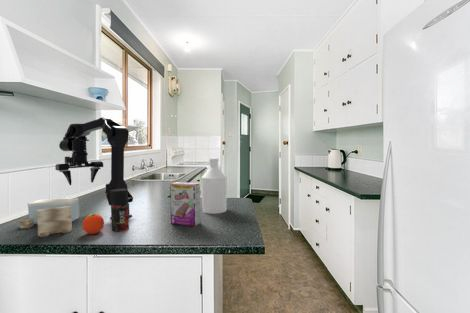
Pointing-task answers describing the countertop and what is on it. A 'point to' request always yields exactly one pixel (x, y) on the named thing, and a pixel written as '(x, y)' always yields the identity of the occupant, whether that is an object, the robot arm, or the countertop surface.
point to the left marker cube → (27, 223)
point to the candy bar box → (185, 203)
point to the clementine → (92, 223)
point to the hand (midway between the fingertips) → (81, 183)
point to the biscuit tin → (53, 204)
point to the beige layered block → (54, 220)
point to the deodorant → (119, 210)
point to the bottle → (214, 189)
